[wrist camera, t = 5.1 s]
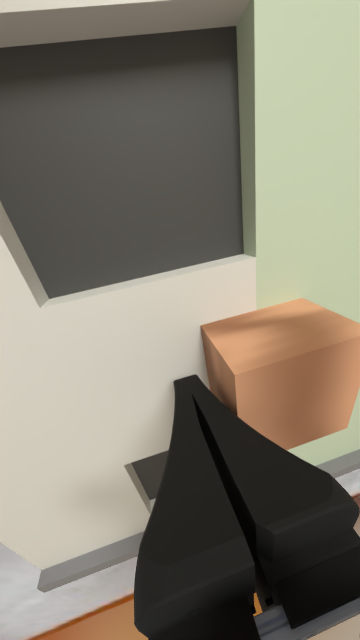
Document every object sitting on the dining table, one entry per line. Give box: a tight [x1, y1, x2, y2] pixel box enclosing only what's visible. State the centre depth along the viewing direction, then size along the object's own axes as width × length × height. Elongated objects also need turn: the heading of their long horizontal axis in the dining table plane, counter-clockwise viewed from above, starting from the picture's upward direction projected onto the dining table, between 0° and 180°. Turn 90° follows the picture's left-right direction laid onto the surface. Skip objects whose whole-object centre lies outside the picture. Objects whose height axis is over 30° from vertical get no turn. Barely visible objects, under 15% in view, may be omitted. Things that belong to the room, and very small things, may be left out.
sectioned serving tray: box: [0, 0, 360, 592], centre depth 13 cm, size 35×34×2 cm
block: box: [200, 298, 360, 450], centre depth 11 cm, size 6×6×4 cm
